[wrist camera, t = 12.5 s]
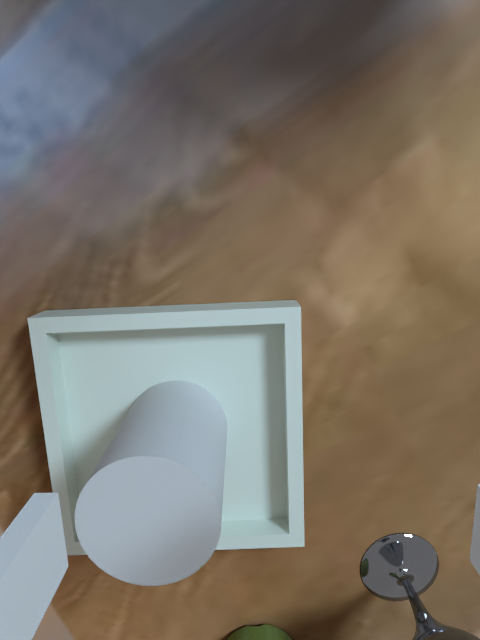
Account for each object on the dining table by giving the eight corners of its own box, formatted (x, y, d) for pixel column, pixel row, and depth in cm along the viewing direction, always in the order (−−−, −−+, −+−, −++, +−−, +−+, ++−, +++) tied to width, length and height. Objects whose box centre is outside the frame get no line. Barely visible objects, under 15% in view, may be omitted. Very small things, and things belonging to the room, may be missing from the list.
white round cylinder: (134, 475, 37) (86, 590, 26) (122, 384, 36) (63, 461, 24) (231, 469, 37) (227, 581, 25) (222, 376, 35) (214, 451, 24)
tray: (45, 310, 35) (27, 318, 32) (295, 300, 35) (300, 306, 32) (74, 531, 39) (61, 555, 37) (299, 522, 39) (304, 546, 36)
